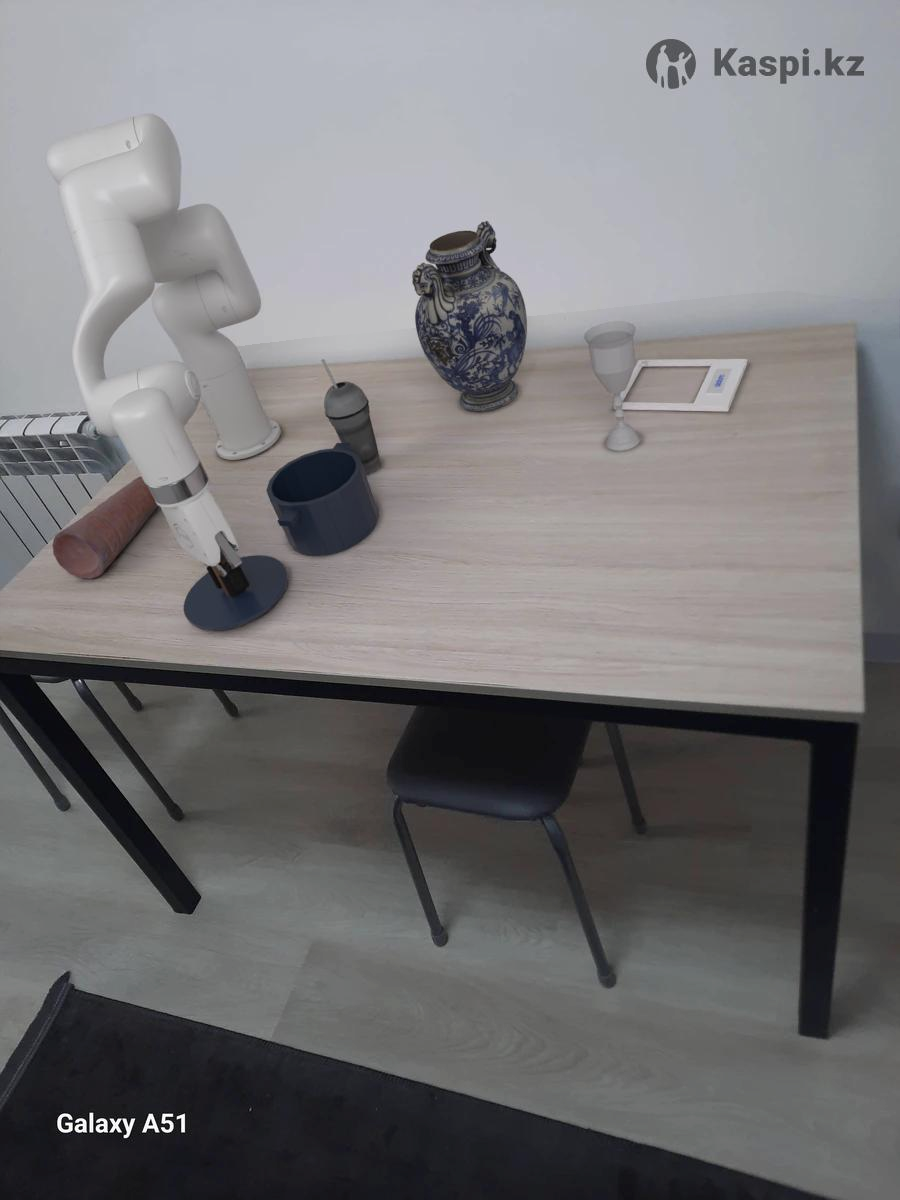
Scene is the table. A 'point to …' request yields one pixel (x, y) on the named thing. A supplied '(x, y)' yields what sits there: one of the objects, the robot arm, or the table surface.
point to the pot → (324, 501)
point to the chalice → (614, 372)
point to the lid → (223, 611)
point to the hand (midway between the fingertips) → (233, 586)
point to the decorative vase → (471, 318)
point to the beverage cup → (352, 420)
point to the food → (104, 531)
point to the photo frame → (712, 392)
